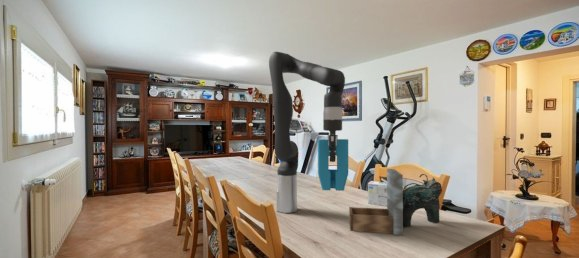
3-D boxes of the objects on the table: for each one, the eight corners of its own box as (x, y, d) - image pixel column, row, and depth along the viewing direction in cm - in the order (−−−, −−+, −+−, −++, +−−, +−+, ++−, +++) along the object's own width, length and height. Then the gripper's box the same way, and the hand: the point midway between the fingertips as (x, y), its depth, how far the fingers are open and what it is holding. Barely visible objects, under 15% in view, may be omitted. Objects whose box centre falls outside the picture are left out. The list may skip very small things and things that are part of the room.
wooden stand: (350, 232, 100) (350, 173, 100) (349, 219, 113) (348, 168, 113) (403, 235, 96) (402, 175, 96) (394, 222, 110) (394, 169, 110)
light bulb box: (392, 203, 137) (392, 182, 137) (389, 206, 131) (389, 185, 131) (371, 200, 143) (371, 180, 143) (367, 203, 137) (367, 182, 137)
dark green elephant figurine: (433, 218, 114) (433, 171, 114) (446, 223, 108) (446, 174, 108) (395, 223, 108) (394, 174, 108) (406, 229, 102) (406, 177, 102)
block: (347, 187, 109) (347, 139, 109) (348, 190, 104) (348, 139, 104) (318, 187, 111) (318, 139, 111) (317, 189, 106) (317, 139, 106)
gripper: (324, 119, 115) (324, 158, 115) (322, 118, 101) (322, 163, 101) (341, 119, 114) (342, 158, 114) (342, 118, 100) (342, 163, 100)
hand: (332, 160), depth 108 cm, fingers closed on block, 5 cm apart
